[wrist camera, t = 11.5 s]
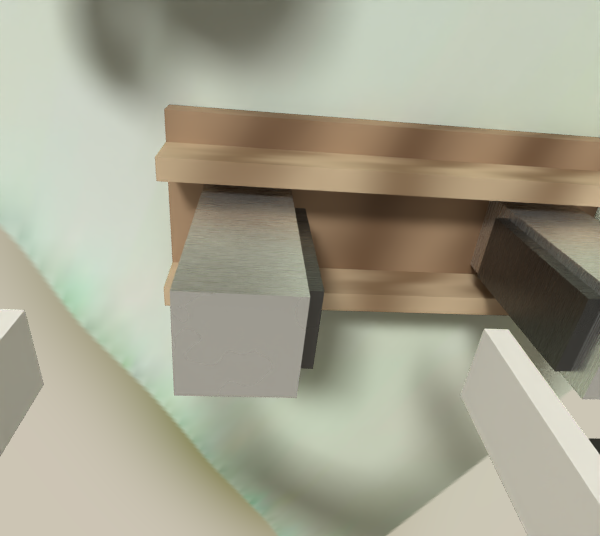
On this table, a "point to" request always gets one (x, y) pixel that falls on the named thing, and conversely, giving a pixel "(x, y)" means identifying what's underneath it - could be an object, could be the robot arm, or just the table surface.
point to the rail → (377, 195)
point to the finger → (547, 282)
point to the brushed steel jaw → (245, 296)
